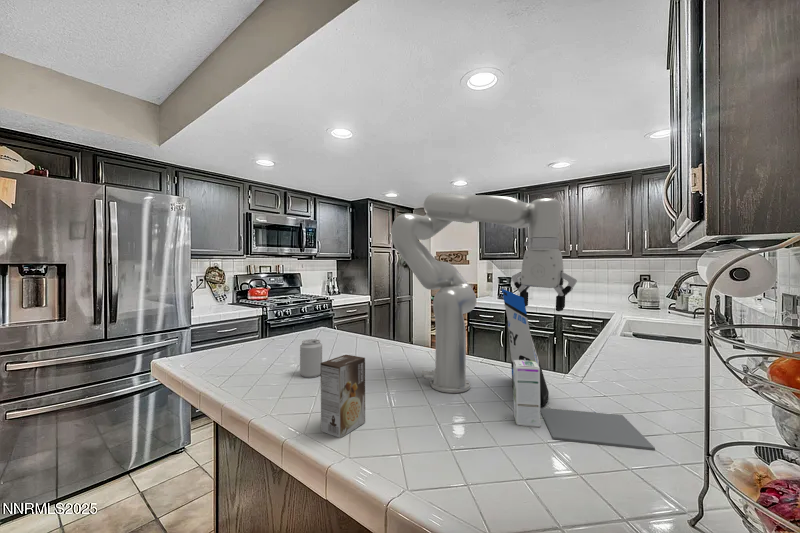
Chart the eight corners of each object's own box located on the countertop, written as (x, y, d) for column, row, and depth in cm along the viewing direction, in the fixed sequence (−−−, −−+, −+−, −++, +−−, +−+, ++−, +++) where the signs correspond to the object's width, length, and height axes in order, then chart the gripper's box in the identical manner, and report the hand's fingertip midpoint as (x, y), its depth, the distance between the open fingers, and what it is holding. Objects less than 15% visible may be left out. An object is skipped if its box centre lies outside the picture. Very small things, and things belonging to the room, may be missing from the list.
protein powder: (532, 372, 115) (515, 286, 114) (562, 404, 91) (541, 294, 90) (504, 377, 116) (487, 291, 115) (526, 410, 91) (505, 301, 91)
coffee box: (345, 416, 86) (346, 353, 86) (366, 422, 83) (366, 357, 83) (319, 431, 79) (319, 362, 78) (340, 439, 75) (340, 366, 75)
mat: (552, 439, 76) (552, 437, 76) (539, 409, 91) (539, 407, 91) (654, 450, 71) (655, 447, 71) (622, 416, 87) (622, 414, 87)
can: (326, 373, 119) (326, 339, 119) (310, 380, 113) (310, 344, 113) (311, 370, 123) (311, 337, 123) (295, 375, 117) (295, 341, 117)
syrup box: (541, 427, 81) (541, 367, 81) (515, 425, 82) (515, 365, 82) (536, 417, 87) (537, 360, 86) (512, 414, 88) (512, 358, 88)
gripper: (507, 245, 96) (505, 305, 96) (571, 244, 83) (569, 314, 83) (519, 246, 101) (517, 303, 101) (582, 245, 88) (580, 311, 89)
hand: (541, 308), depth 92 cm, fingers open, 9 cm apart
